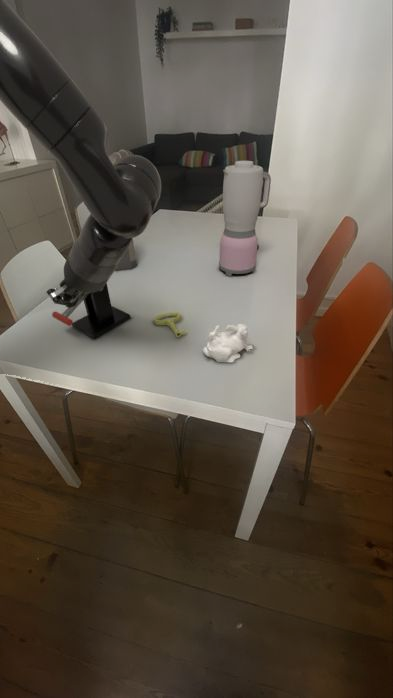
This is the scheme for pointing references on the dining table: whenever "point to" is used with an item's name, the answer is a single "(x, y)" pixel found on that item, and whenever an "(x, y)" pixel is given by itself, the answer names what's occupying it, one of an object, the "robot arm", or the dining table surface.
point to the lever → (67, 313)
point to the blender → (241, 216)
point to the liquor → (128, 259)
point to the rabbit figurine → (227, 343)
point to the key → (170, 322)
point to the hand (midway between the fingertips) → (68, 303)
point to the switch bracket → (100, 315)
